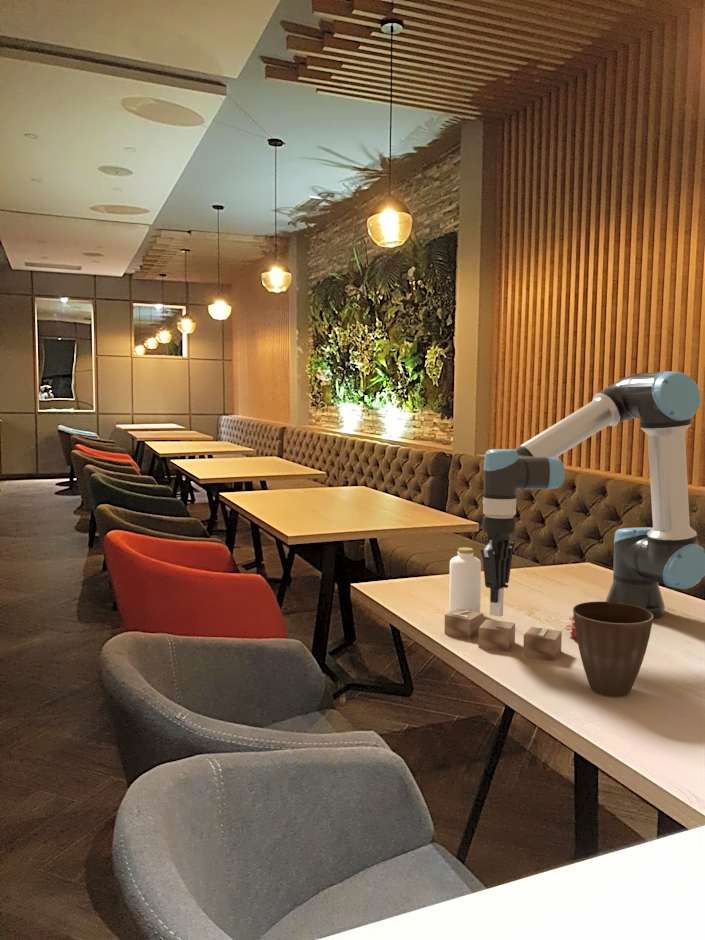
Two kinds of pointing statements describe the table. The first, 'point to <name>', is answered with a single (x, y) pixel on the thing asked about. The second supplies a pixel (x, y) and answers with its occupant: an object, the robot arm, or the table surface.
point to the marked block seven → (463, 623)
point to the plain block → (496, 635)
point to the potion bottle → (465, 581)
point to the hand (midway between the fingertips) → (496, 615)
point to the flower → (572, 627)
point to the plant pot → (612, 644)
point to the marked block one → (542, 643)
